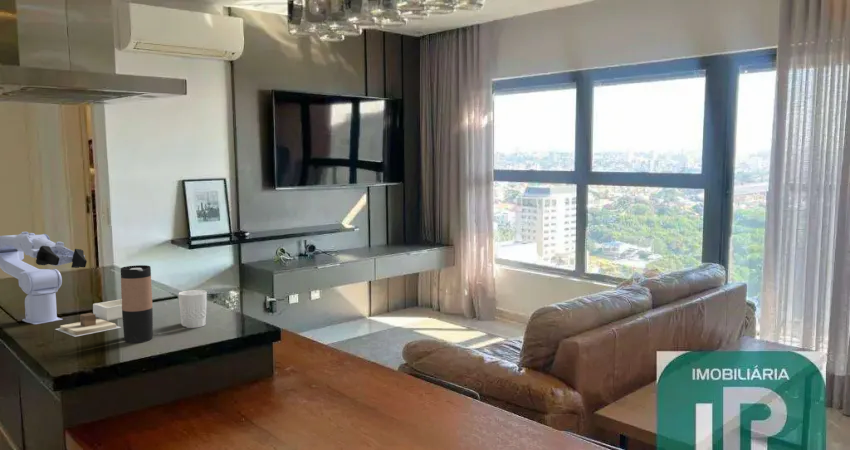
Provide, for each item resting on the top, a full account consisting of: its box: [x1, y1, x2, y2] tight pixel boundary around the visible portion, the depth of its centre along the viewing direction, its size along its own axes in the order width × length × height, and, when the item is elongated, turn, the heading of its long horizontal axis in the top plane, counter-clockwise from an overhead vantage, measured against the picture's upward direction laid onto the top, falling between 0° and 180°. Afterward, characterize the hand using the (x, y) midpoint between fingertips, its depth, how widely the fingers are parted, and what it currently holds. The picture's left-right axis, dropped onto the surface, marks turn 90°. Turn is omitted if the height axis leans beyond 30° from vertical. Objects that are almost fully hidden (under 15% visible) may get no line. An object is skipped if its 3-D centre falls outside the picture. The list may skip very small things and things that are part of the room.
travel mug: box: [120, 264, 154, 344], centre depth 174 cm, size 8×8×20 cm
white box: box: [92, 298, 123, 322], centre depth 199 cm, size 9×9×4 cm
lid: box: [59, 312, 118, 335], centre depth 184 cm, size 11×11×4 cm
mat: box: [54, 325, 123, 338], centre depth 185 cm, size 13×13×1 cm
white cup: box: [178, 289, 208, 329], centre depth 190 cm, size 8×8×10 cm
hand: (71, 262), depth 180 cm, fingers open, 7 cm apart
